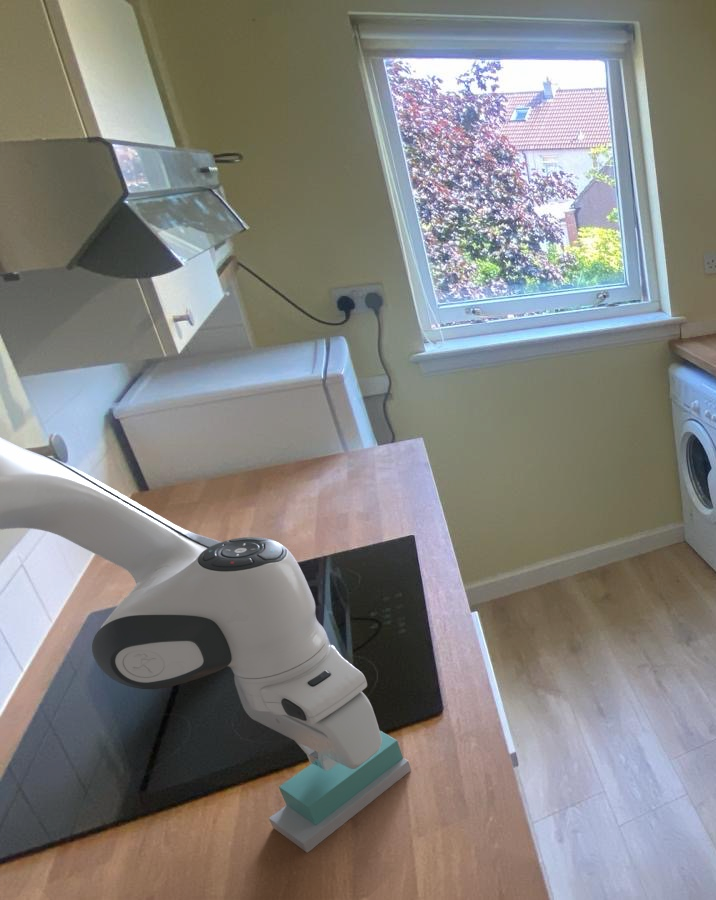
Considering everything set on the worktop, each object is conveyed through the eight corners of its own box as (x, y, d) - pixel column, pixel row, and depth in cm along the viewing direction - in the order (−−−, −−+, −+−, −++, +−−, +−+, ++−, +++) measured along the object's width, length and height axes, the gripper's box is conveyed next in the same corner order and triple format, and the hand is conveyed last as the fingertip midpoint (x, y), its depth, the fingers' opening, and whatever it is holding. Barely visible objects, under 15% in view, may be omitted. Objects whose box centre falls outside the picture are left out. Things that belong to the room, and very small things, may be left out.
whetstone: (272, 827, 85) (307, 853, 82) (260, 799, 84) (294, 824, 80) (377, 750, 96) (411, 770, 93) (368, 723, 94) (402, 743, 91)
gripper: (204, 663, 83) (245, 753, 89) (319, 718, 75) (356, 814, 80) (261, 631, 88) (297, 718, 94) (375, 679, 80) (406, 771, 85)
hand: (325, 763), depth 87 cm, fingers closed
